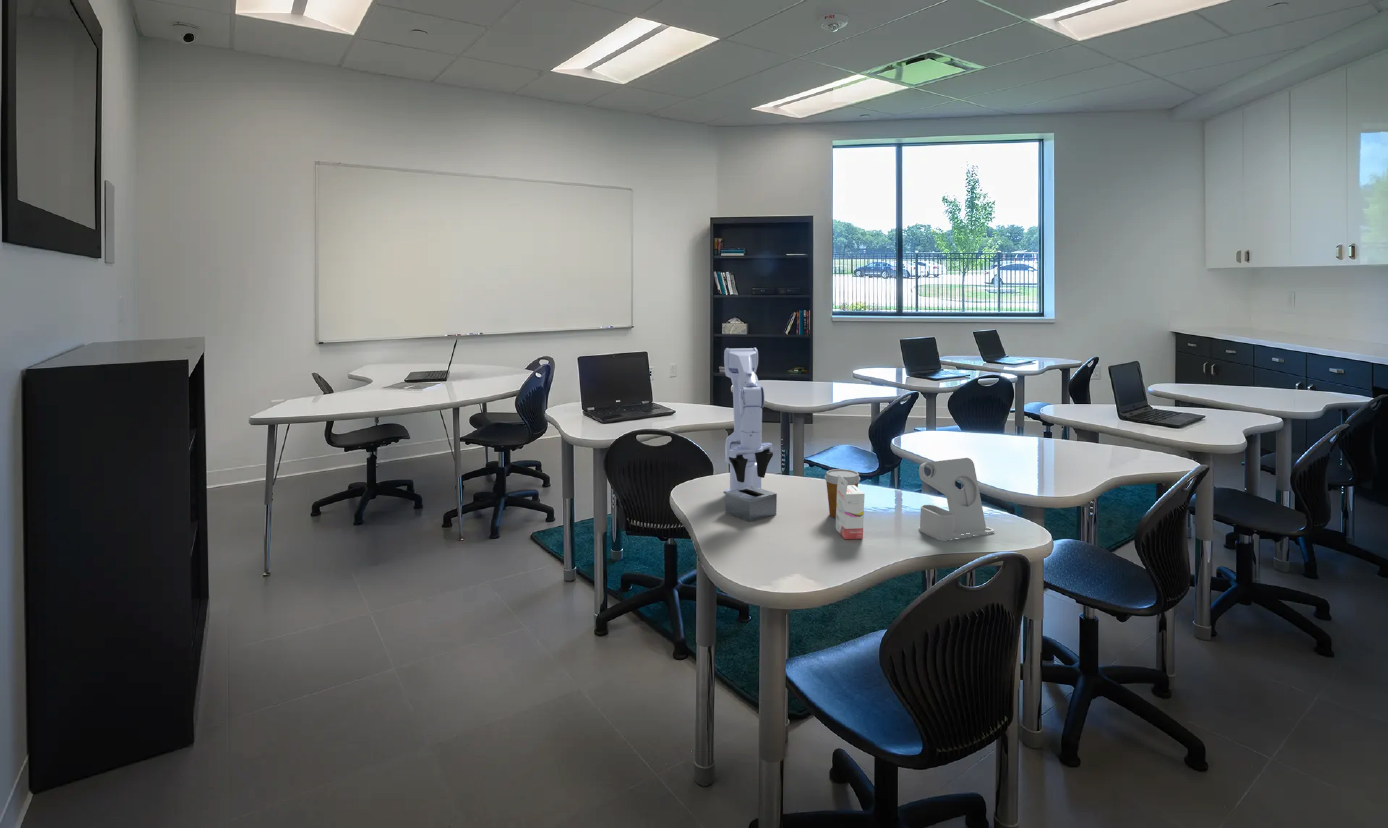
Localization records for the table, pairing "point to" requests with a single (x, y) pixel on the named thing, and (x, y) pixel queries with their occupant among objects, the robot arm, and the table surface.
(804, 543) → the table surface
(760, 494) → the box
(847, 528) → the ink cartridge box
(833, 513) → the disposable coffee cup
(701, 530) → the table surface
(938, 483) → the grey mounting bracket
